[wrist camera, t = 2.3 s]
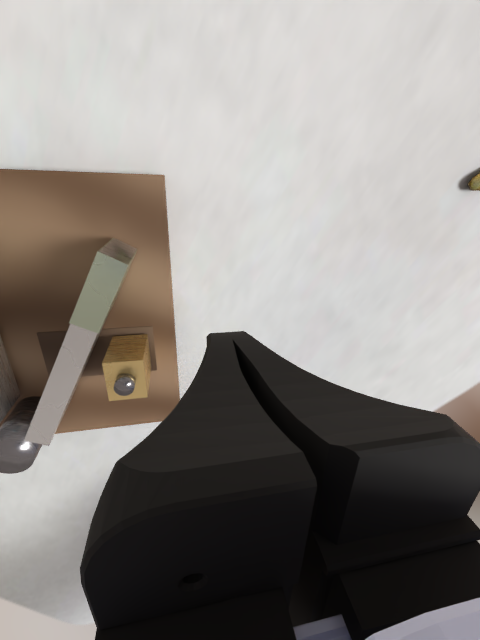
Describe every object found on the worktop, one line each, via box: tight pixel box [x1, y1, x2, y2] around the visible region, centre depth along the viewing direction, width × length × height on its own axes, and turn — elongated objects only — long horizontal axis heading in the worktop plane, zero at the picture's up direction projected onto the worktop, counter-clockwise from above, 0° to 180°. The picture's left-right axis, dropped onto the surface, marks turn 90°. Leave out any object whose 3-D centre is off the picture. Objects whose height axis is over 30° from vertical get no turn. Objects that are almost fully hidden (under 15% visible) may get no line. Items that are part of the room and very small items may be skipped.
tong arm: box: [24, 238, 137, 446], centre depth 16 cm, size 11×1×4 cm, turn 150°
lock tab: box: [102, 334, 151, 401], centre depth 17 cm, size 2×2×4 cm
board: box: [0, 169, 180, 434], centre depth 18 cm, size 16×12×1 cm
